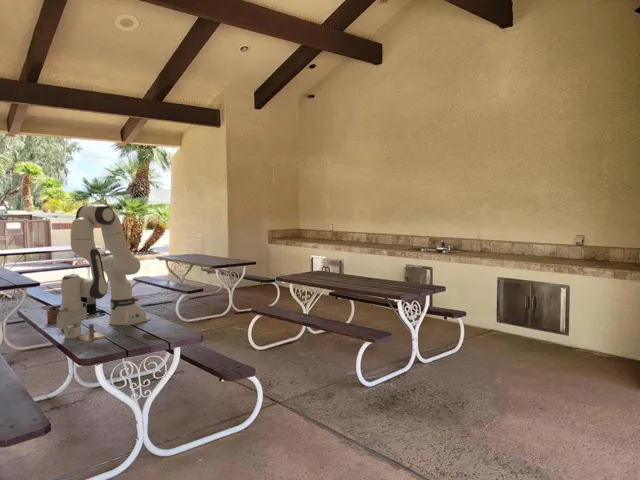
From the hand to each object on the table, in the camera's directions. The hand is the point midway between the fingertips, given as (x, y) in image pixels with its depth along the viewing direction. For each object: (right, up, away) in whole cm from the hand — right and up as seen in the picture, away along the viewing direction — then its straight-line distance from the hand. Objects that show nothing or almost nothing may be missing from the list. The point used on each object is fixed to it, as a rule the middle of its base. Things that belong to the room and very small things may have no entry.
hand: (72, 332), depth 244 cm
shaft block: (+11, -2, -2) cm, 11 cm away
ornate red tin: (-26, 0, +30) cm, 39 cm away
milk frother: (-15, +1, +54) cm, 56 cm away
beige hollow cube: (0, -2, 0) cm, 2 cm away
